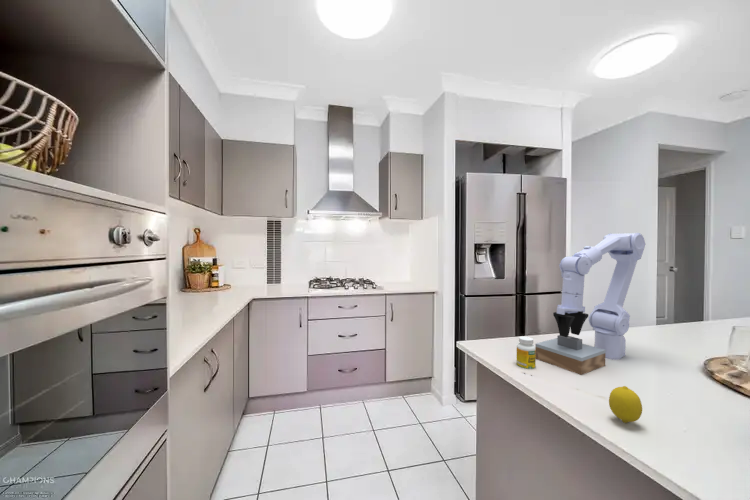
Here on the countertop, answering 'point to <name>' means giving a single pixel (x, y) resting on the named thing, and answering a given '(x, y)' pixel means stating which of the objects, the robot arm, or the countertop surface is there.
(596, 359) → the box
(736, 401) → the countertop surface
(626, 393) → the lemon
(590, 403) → the countertop surface
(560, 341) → the lid
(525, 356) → the supplement bottle
